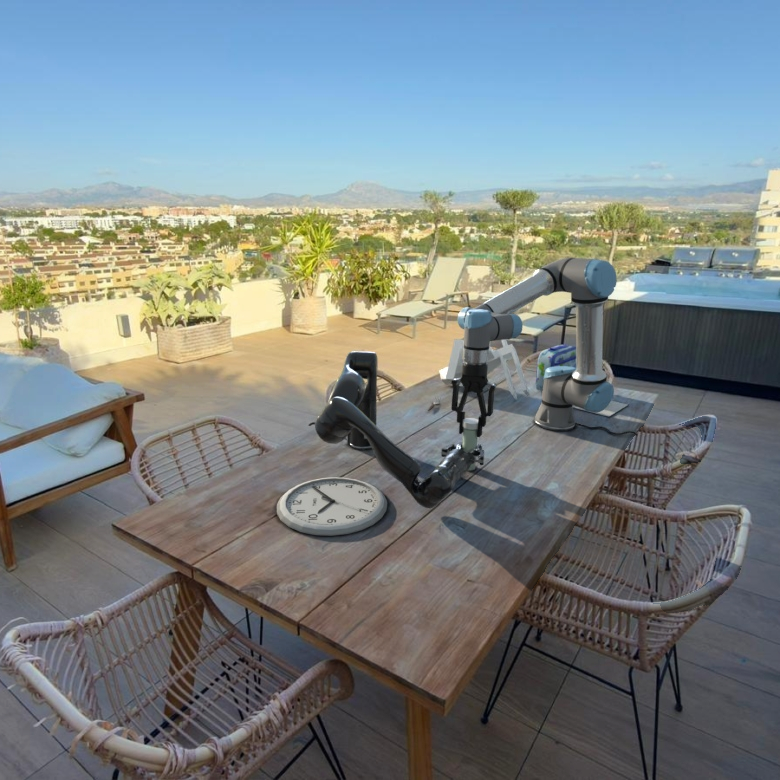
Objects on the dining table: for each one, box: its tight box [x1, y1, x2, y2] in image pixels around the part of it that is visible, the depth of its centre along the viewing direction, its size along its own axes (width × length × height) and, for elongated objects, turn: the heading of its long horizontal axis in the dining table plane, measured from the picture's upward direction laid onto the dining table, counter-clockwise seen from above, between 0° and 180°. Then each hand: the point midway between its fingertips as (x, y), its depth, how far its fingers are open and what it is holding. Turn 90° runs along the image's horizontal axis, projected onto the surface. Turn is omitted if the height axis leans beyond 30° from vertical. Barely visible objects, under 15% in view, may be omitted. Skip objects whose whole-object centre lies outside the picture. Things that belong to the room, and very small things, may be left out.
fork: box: [427, 396, 442, 412], centre depth 222 cm, size 3×16×2 cm, turn 160°
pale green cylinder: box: [462, 428, 478, 472], centre depth 165 cm, size 4×4×15 cm
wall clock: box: [276, 476, 388, 537], centre depth 142 cm, size 30×2×30 cm
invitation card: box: [573, 400, 629, 418], centre depth 226 cm, size 21×1×15 cm
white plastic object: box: [438, 338, 531, 400], centre depth 245 cm, size 37×45×31 cm
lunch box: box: [535, 344, 576, 392], centre depth 247 cm, size 26×11×21 cm, turn 134°
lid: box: [463, 417, 479, 430], centre depth 162 cm, size 5×5×2 cm
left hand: (471, 445), depth 167 cm, fingers closed on pale green cylinder, 4 cm apart
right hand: (470, 433), depth 163 cm, fingers closed on lid, 5 cm apart
